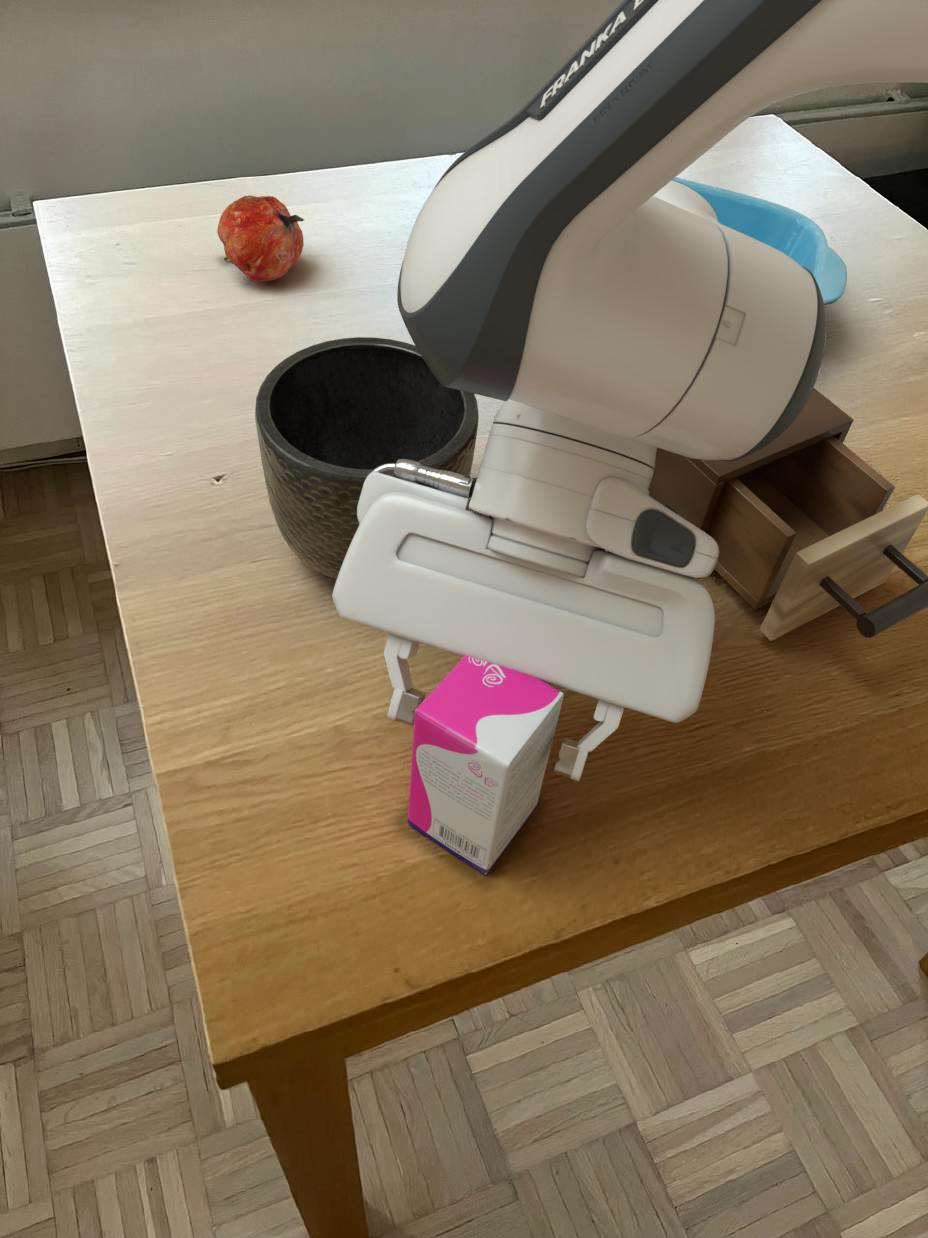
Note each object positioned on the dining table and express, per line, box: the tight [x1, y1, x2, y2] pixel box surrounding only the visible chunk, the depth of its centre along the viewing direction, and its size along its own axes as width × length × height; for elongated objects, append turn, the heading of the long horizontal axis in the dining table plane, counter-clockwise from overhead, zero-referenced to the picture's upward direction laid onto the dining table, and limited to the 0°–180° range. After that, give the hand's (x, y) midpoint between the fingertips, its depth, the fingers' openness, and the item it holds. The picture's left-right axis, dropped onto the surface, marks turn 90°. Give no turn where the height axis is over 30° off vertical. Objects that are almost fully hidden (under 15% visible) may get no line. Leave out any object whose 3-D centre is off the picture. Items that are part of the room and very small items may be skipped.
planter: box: [254, 336, 479, 581], centre depth 68 cm, size 14×14×13 cm
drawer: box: [706, 436, 928, 642], centre depth 71 cm, size 18×11×8 cm, turn 32°
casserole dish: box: [673, 176, 848, 307], centre depth 94 cm, size 37×22×7 cm, turn 72°
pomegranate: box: [216, 194, 306, 282], centre depth 92 cm, size 7×7×10 cm
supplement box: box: [407, 655, 565, 876], centre depth 56 cm, size 6×6×12 cm
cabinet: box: [648, 386, 854, 533], centre depth 76 cm, size 15×13×10 cm
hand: (483, 748), depth 55 cm, fingers open, 8 cm apart
